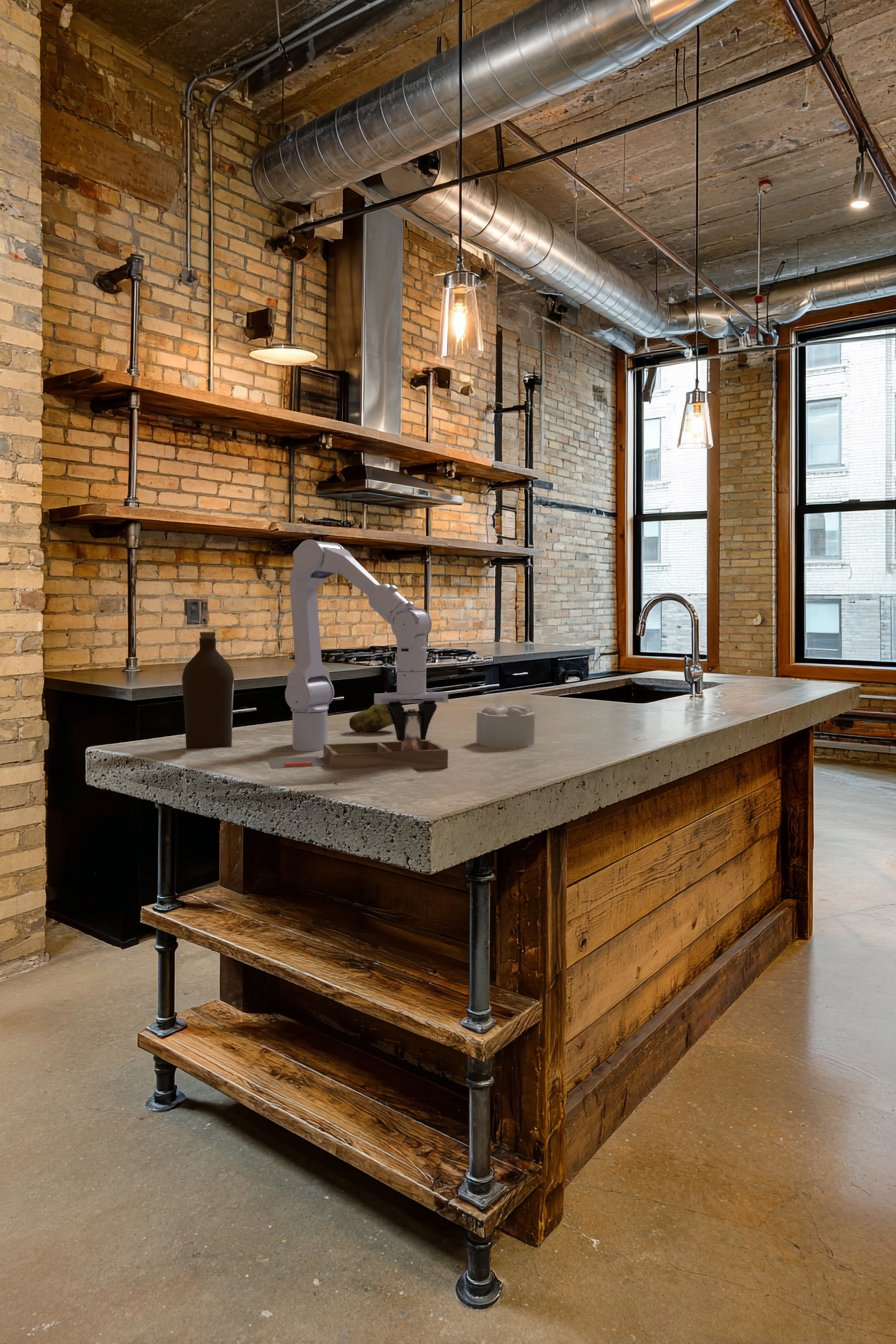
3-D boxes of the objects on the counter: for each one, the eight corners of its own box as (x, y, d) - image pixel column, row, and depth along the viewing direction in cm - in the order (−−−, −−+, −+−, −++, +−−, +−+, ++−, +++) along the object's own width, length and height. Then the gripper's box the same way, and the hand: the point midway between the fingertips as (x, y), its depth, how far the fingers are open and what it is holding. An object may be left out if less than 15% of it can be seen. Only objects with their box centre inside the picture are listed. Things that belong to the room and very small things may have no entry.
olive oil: (195, 754, 171) (193, 633, 169) (175, 747, 179) (173, 631, 177) (243, 749, 178) (242, 632, 176) (222, 743, 186) (220, 631, 184)
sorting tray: (323, 761, 165) (323, 744, 165) (429, 756, 172) (429, 740, 172) (334, 773, 154) (334, 754, 154) (447, 767, 161) (447, 749, 160)
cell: (398, 748, 165) (399, 708, 165) (418, 747, 167) (418, 708, 166) (404, 752, 162) (404, 711, 161) (423, 751, 163) (424, 710, 162)
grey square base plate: (266, 763, 163) (266, 755, 163) (317, 761, 166) (317, 753, 166) (271, 773, 153) (271, 765, 153) (326, 770, 156) (326, 762, 156)
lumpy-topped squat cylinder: (472, 742, 192) (472, 704, 191) (522, 739, 197) (523, 702, 196) (491, 749, 182) (491, 710, 181) (543, 746, 187) (544, 708, 186)
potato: (351, 729, 209) (351, 697, 209) (403, 729, 209) (403, 697, 209) (348, 734, 201) (348, 701, 200) (401, 734, 201) (401, 701, 200)
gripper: (380, 673, 157) (379, 744, 158) (453, 672, 162) (452, 741, 163) (371, 670, 164) (371, 738, 165) (442, 669, 168) (441, 735, 169)
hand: (411, 739), depth 164 cm, fingers closed on cell, 4 cm apart
